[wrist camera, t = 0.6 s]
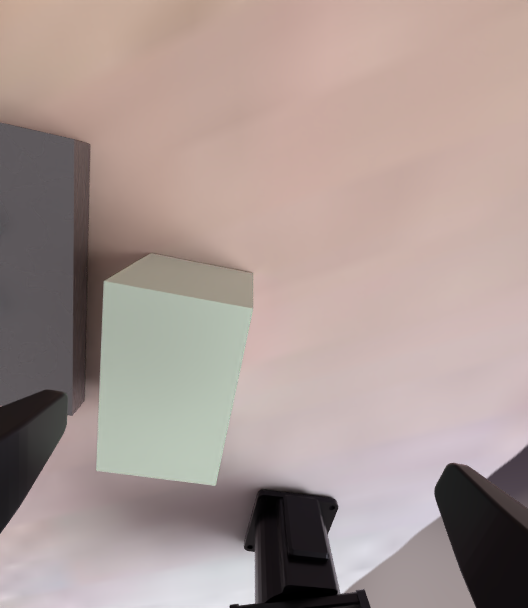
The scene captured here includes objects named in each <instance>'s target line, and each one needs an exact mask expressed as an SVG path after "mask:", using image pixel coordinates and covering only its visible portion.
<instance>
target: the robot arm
mask: <svg viewBox="0 0 528 608" xmlns="http://www.w3.org/2000/svg"><path fill="white" fill-rule="evenodd" d="M67 410H68V395H67V394H66V393H65V392H61V391H55V390H49V389H46V390H43V391H40V392H37V393H35V394H32V395H30V396H27V397H25V398H22V399H19V400H17V401H14V402H12V403H9V404H6V405H4V406H1V407H0V533H1V532H2V531H3V529H4V528H5V527H6V525H7V524H8V523H9V521H10V520H11V518H12V517H13V515H14V514H15V513H16V511H17V510H18V508H19V507H20V505H21V504H22V502H23V500H24V499H25V497H26V496H27V494H28V492H29V491H30V489H31V487H32V486H33V484H34V482H35V481H36V479H37V477H38V476H39V474H40V472H41V471H42V469H43V467H44V466H45V464H46V462H47V461H48V459H49V457H50V456H51V454H52V452H53V451H54V449H55V447H56V446H57V444H58V442H59V440H60V439H61V437H62V435H63V433H64V431H65V428H66V425H67ZM434 494H435V499H436V502H437V505H438V508H439V511H440V513H441V516H442V519H443V522H444V525H445V528H446V531H447V534H448V537H449V540H450V542H451V545H452V548H453V551H454V554H455V557H456V560H457V562H458V565H459V568H460V571H461V573H462V576H463V578H464V580H465V583H466V585H467V588H468V590H469V592H470V594H471V597H472V599H473V601H474V604H475V606H476V608H528V508H527V507H525V506H523V505H522V504H521V503H520V502H518V501H517V500H515V499H514V498H513V497H511V496H510V495H508V494H507V493H506V492H504V491H503V490H501V489H500V488H498V487H497V486H496V485H494V484H493V483H492V482H490V481H489V480H487V479H486V478H485V477H483V476H482V475H480V474H479V473H478V472H476V471H475V470H473V469H472V468H471V467H469V466H467V465H463V464H457V463H450V464H448V465H447V466H446V468H445V469H444V471H443V473H442V475H441V477H440V479H439V480H438V482H437V484H436V486H435V493H434ZM337 510H338V504H337V501H336V500H335V499H332V498H324V497H316V496H308V495H300V494H293V493H285V492H277V491H269V490H261V491H259V492H258V494H257V497H256V501H255V504H254V508H253V511H252V515H251V519H250V522H249V526H248V530H247V533H246V537H245V541H244V549H245V550H247V551H252V552H255V604H249V605H240V606H239V604H232V605H230V608H370V605H369V601H368V599H367V596H366V593H365V590H364V589H363V590H356V592H353V593H344V594H340V590H339V585H338V581H337V576H336V572H335V567H334V562H333V558H332V553H331V549H330V544H329V539H328V532H329V530H330V527H331V525H332V522H333V520H334V517H335V515H336V512H337Z"/></svg>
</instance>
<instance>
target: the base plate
mask: <svg viewBox="0 0 528 608" xmlns="http://www.w3.org/2000/svg"><path fill="white" fill-rule="evenodd" d="M89 172H90V144H88V143H85V142H82V141H78V140H75V139H70V138H66V137H62V136H57V135H53V134H48V133H44V132H40V131H35V130H31V129H26V128H22V127H18V126H13V125H9V124H4V123H0V406H4V405H6V404H9V403H12V402H14V401H17V400H19V399H22V398H25V397H27V396H30V395H32V394H35V393H37V392H40V391H43V390H46V389H49V390H55V391H61V392H65V393H66V394H67V395H68V410H67V415H71V416H73V414H74V413H75V412H76V411H77V409H78V408H79V407H80V406H81V404H82V403H83V402H84V399H85V353H86V308H87V262H88V217H89Z"/></svg>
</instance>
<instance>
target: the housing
mask: <svg viewBox="0 0 528 608" xmlns="http://www.w3.org/2000/svg"><path fill="white" fill-rule="evenodd" d="M252 312H253V273H250V272H245V271H240V270H235V269H230V268H225V267H220V266H215V265H209V264H204V263H199V262H194V261H189V260H184V259H179V258H174V257H169V256H164V255H159V254H153V253H150V254H148V255H147V256H145V257H143V258H142V259H140V260H138V261H137V262H135V263H133V264H132V265H130V266H128V267H127V268H125V269H123V270H121V271H120V272H118V273H116V274H115V275H113V276H111V277H110V278H108V279H106V280H105V281H104V288H103V313H102V338H101V362H100V387H99V412H98V437H97V461H96V471H101V472H109V473H117V474H125V475H133V476H141V477H149V478H157V479H165V480H173V481H181V482H189V483H197V484H205V485H213V486H216V482H217V477H218V472H219V468H220V463H221V458H222V453H223V449H224V444H225V439H226V435H227V430H228V425H229V420H230V416H231V411H232V406H233V402H234V397H235V392H236V387H237V383H238V378H239V373H240V369H241V364H242V359H243V354H244V350H245V345H246V340H247V336H248V331H249V326H250V321H251V317H252Z"/></svg>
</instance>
